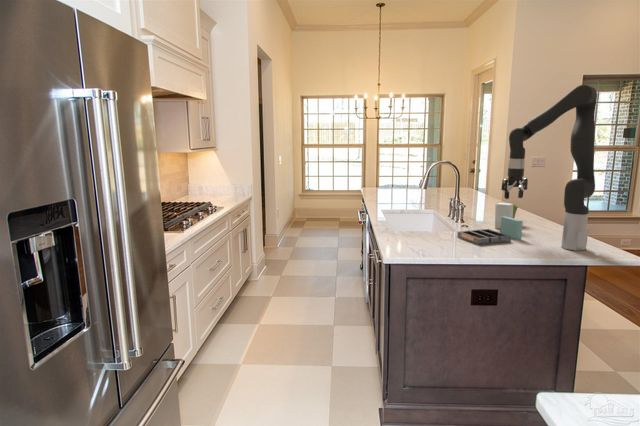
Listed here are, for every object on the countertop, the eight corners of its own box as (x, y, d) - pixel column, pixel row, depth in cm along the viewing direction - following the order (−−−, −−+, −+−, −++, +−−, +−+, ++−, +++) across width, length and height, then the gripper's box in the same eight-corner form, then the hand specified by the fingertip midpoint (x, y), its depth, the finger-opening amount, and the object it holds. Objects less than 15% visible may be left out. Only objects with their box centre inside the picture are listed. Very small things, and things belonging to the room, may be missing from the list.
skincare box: (512, 228, 228) (514, 203, 225) (508, 230, 224) (510, 204, 221) (497, 226, 234) (499, 202, 231) (493, 228, 230) (495, 203, 227)
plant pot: (521, 224, 239) (523, 206, 237) (506, 226, 235) (508, 207, 233) (506, 220, 250) (507, 203, 248) (491, 222, 246) (493, 204, 244)
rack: (510, 241, 200) (511, 236, 200) (477, 245, 195) (478, 239, 194) (488, 234, 216) (488, 228, 216) (457, 236, 211) (457, 231, 210)
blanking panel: (521, 239, 205) (522, 220, 203) (516, 239, 204) (517, 221, 202) (504, 234, 216) (505, 216, 214) (499, 234, 215) (501, 216, 214)
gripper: (510, 168, 198) (507, 200, 201) (533, 167, 201) (530, 198, 205) (499, 167, 205) (497, 198, 208) (522, 166, 209) (519, 196, 212)
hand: (513, 198), depth 206 cm, fingers open, 8 cm apart
